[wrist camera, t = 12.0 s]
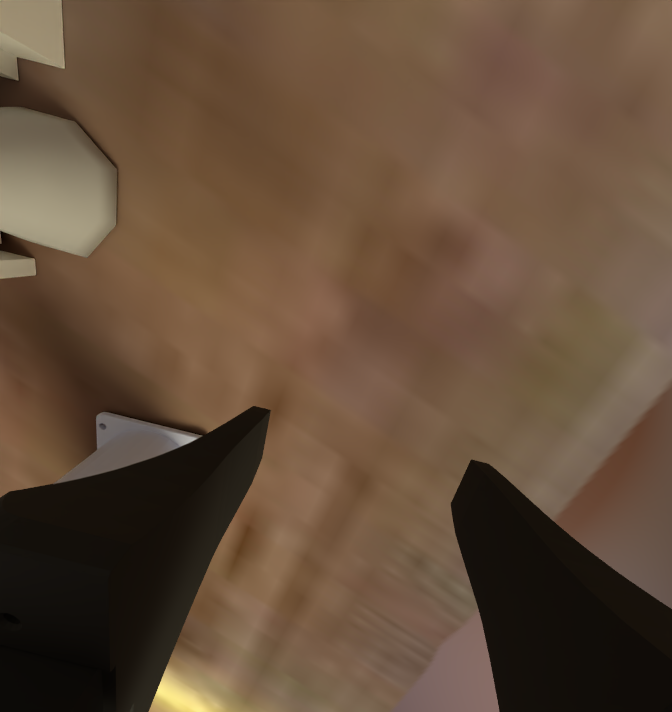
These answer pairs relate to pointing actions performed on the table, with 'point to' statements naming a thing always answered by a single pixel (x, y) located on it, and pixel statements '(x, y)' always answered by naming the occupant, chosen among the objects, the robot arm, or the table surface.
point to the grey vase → (54, 182)
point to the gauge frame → (36, 43)
